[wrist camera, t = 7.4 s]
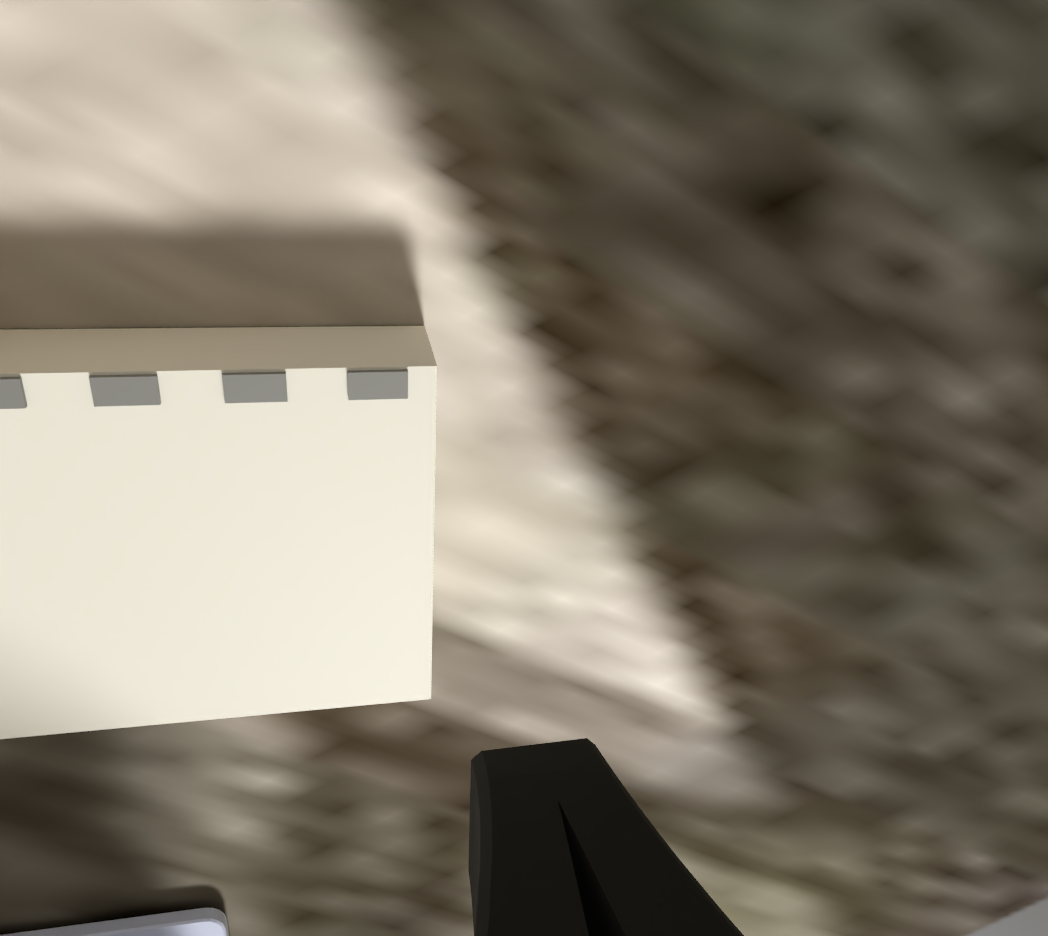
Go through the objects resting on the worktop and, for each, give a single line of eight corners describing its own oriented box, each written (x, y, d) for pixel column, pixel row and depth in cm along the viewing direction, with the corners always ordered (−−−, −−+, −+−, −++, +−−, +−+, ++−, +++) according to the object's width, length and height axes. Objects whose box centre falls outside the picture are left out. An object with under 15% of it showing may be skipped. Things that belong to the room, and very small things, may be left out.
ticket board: (420, 638, 21) (431, 702, 19) (-291, 694, 18) (-359, 776, 16) (424, 326, 17) (437, 368, 15) (-465, 333, 14) (-577, 387, 12)
